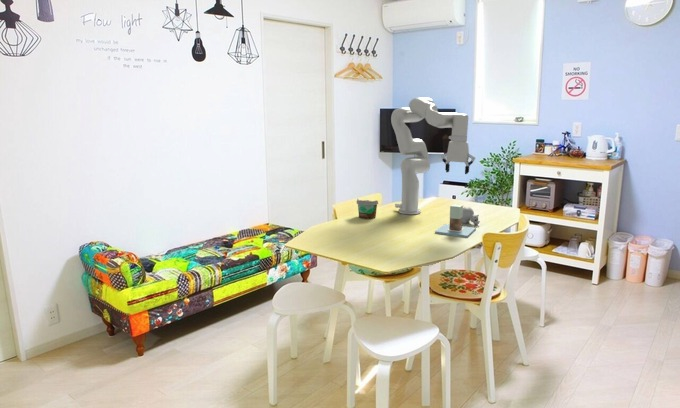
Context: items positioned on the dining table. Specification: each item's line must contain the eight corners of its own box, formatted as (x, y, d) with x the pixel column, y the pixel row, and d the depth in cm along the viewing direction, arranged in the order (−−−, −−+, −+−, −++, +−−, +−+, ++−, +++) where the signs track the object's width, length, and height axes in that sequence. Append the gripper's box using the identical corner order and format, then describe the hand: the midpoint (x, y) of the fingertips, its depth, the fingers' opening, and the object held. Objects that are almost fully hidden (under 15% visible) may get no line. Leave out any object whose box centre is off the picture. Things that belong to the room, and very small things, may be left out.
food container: (353, 218, 275) (353, 200, 273) (357, 215, 280) (357, 198, 278) (374, 220, 270) (374, 202, 268) (378, 218, 276) (378, 200, 274)
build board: (434, 233, 246) (435, 230, 246) (444, 225, 259) (444, 223, 259) (467, 237, 238) (467, 235, 238) (475, 229, 252) (475, 227, 252)
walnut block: (449, 229, 248) (449, 217, 246) (452, 227, 252) (452, 215, 251) (459, 231, 245) (459, 219, 244) (462, 228, 250) (462, 217, 248)
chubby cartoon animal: (472, 231, 259) (478, 217, 255) (454, 219, 266) (460, 205, 262) (479, 228, 264) (485, 215, 260) (461, 216, 271) (467, 203, 267)
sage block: (449, 217, 246) (450, 206, 245) (452, 215, 251) (453, 204, 249) (459, 219, 244) (460, 207, 243) (462, 217, 248) (463, 205, 247)
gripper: (440, 138, 251) (438, 172, 255) (474, 140, 243) (472, 175, 247) (444, 137, 257) (442, 170, 261) (478, 139, 249) (475, 173, 253)
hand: (456, 172), depth 254 cm, fingers open, 9 cm apart
